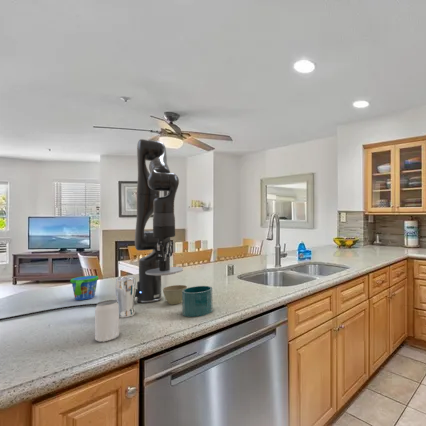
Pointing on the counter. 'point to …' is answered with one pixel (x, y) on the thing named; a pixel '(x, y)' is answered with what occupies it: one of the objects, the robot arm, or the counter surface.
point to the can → (106, 320)
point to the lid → (168, 270)
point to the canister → (197, 301)
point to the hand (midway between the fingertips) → (164, 269)
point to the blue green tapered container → (84, 287)
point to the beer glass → (126, 296)
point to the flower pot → (174, 293)
